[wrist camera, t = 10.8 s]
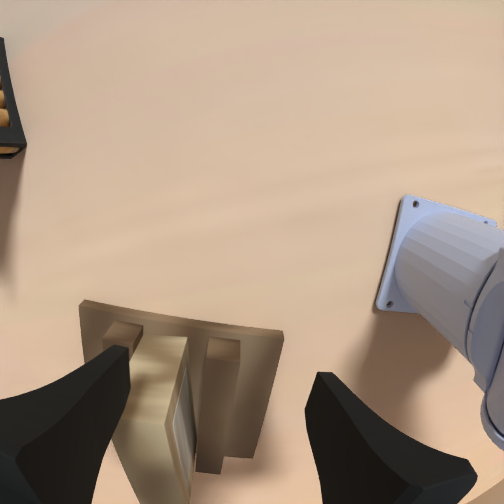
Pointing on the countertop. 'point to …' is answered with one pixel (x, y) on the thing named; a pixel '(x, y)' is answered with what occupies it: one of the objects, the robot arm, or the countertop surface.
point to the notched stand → (202, 372)
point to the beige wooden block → (159, 422)
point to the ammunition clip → (8, 113)
